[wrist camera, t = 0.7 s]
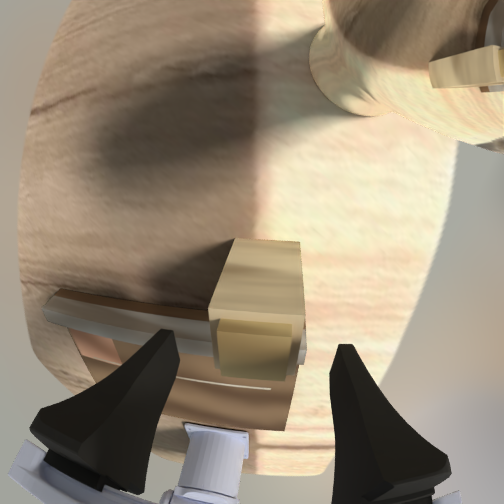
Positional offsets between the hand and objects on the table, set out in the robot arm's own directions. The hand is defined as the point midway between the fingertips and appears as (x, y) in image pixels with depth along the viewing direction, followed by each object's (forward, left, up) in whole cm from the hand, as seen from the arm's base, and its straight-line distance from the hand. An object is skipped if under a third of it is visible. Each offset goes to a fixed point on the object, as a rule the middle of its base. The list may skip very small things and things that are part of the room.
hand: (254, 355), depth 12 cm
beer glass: (+13, -5, -8) cm, 16 cm away
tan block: (0, 0, -8) cm, 8 cm away
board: (-12, +8, -8) cm, 16 cm away
